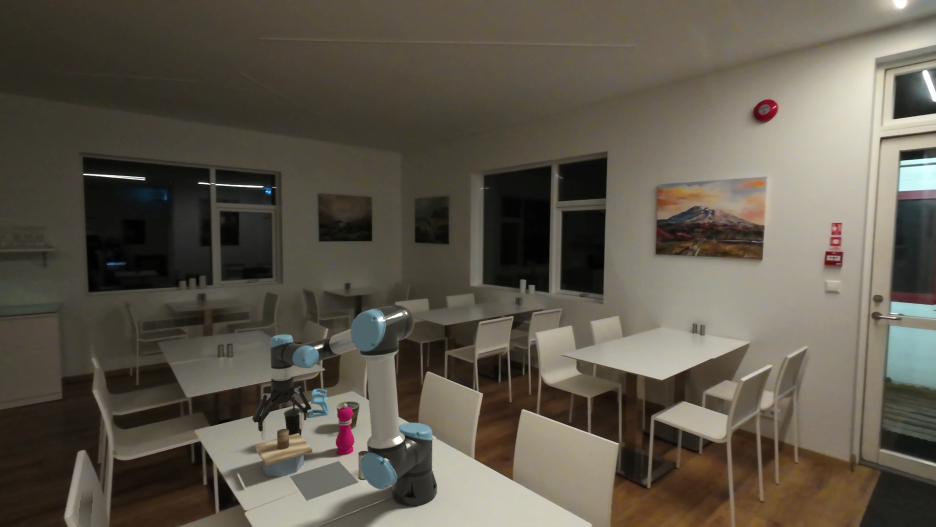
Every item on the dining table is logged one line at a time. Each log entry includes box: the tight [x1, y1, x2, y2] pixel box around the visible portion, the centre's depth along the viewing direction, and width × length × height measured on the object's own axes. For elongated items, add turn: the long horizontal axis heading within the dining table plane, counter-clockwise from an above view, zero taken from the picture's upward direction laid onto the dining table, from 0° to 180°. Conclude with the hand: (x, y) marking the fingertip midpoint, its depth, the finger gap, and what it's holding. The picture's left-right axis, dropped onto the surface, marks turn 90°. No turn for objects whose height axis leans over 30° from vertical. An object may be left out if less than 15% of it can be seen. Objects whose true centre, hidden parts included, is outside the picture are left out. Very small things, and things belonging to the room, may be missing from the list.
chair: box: [308, 388, 330, 418], centre depth 215 cm, size 8×8×12 cm
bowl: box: [262, 455, 305, 478], centre depth 166 cm, size 13×13×7 cm
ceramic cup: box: [336, 400, 360, 430], centre depth 200 cm, size 13×10×10 cm
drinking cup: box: [283, 396, 302, 437], centre depth 185 cm, size 8×8×20 cm
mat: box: [289, 460, 359, 501], centre depth 159 cm, size 18×18×1 cm
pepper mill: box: [335, 403, 355, 456], centre depth 178 cm, size 7×7×20 cm
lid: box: [254, 428, 313, 466], centre depth 166 cm, size 16×16×7 cm
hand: (283, 434), depth 165 cm, fingers open, 13 cm apart
